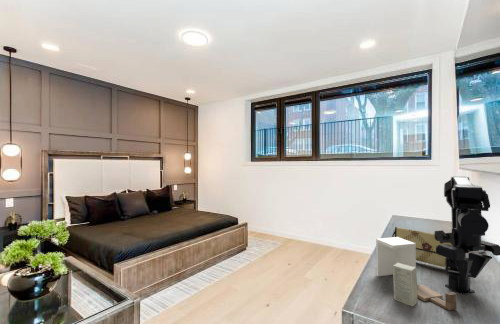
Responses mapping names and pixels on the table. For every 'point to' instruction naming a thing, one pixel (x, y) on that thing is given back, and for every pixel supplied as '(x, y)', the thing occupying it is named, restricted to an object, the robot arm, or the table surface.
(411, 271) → the skincare box
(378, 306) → the table surface
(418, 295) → the tan wooden paddle
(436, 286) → the table surface
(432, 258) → the clutch purse
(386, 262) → the white upright block
